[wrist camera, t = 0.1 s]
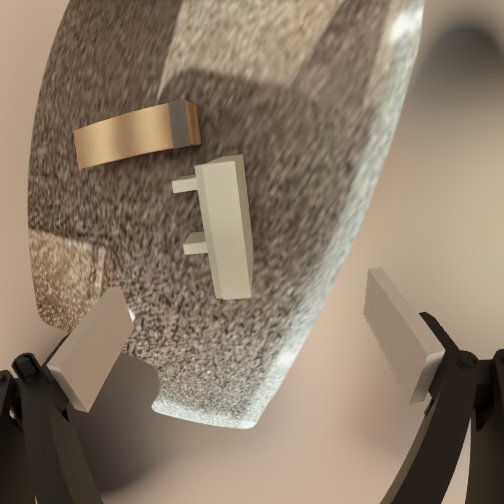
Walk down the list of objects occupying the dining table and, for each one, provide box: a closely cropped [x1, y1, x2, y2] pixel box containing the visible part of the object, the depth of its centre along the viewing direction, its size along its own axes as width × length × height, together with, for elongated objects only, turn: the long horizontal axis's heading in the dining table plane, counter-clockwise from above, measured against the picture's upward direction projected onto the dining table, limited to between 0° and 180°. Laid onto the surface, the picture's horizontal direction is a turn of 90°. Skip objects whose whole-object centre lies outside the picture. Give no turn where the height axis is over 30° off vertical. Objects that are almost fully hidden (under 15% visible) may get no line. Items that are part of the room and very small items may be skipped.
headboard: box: [172, 154, 254, 300], centre depth 34 cm, size 14×9×14 cm, turn 6°
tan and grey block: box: [74, 98, 202, 170], centre depth 33 cm, size 16×6×7 cm, turn 96°
